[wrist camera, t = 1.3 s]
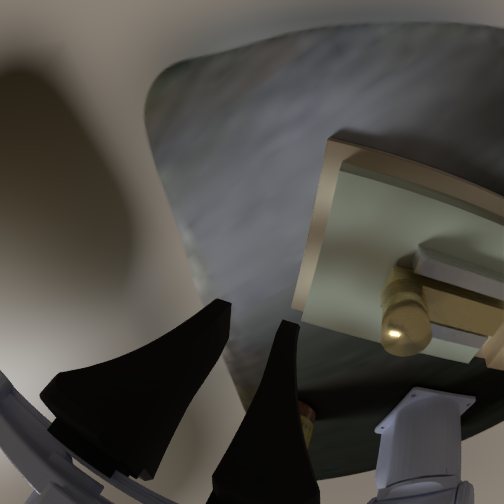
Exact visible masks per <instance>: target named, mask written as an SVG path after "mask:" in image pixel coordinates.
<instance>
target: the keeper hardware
mask: <svg viewBox="0 0 504 504" xmlns="http://www.w3.org/2000/svg"><path fill="white" fill-rule="evenodd" d="M412 266H413V271H414V273H416V274H420V275H423V276H426V277H430V278H433V279H436V280H439V281H443V282H446V283H449V284H452V285H456V286H459V287H462V288H465V289H468V290H472V291H475V292H478V293H481V294H484V295H487V296H490V297H494V298H497V299H500V300H503V301H504V274H503V273H500V272H497V271H495V270H492V269H489V268H486V267H484V266H481V265H478V264H475V263H472V262H469V261H466V260H463V259H461V258H458V257H455V256H452V255H449V254H446V253H443V252H440V251H437V250H433V249H430V248H427V247H424V246H421V245H418V246H417V248H416V251H415V253H414V256H413V258H412ZM430 322H431V329H432V338H436V339H440V340H444V341H448V342H453V343H457V344H461V345H465V346H469V347H474V348H478V349H481V347H482V346H483V345H484V343H485V342H486V341H487V339H488V336H487V335H483V334H479V333H475V332H472V331H468V330H464V329H460V328H456V327H452V326H449V325H445V324H441V323H437V322H433V321H430Z"/></svg>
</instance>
